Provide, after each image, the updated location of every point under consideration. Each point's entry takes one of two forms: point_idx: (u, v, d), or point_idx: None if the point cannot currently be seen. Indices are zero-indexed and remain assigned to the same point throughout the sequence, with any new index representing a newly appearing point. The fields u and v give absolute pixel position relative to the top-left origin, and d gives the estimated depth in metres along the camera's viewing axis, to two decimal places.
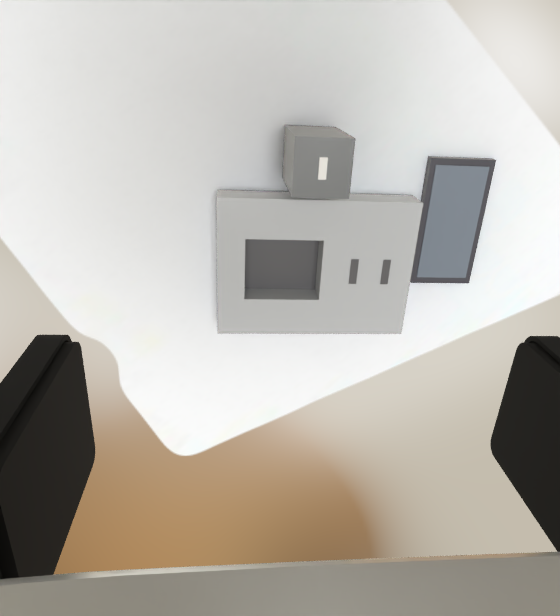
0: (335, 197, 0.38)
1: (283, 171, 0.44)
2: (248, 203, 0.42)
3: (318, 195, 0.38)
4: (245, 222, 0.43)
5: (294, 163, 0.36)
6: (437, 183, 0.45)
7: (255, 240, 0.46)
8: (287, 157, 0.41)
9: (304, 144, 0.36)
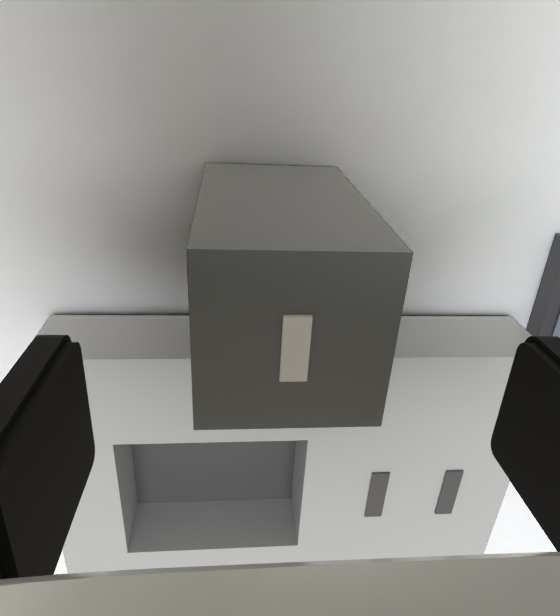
0: (338, 424, 0.12)
1: None
2: (110, 370, 0.16)
3: (282, 421, 0.12)
4: (107, 411, 0.17)
5: (193, 337, 0.10)
6: None
7: None
8: None
9: (225, 276, 0.10)
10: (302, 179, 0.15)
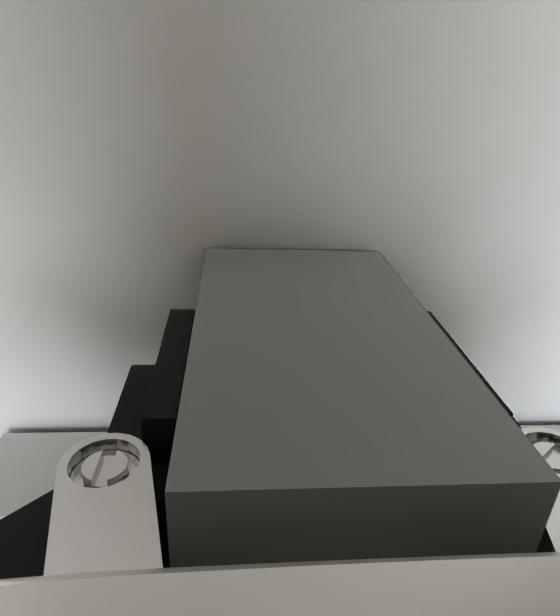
0: None
1: None
2: None
3: None
4: None
5: None
6: None
7: None
8: None
9: (234, 528, 0.06)
10: (338, 279, 0.11)
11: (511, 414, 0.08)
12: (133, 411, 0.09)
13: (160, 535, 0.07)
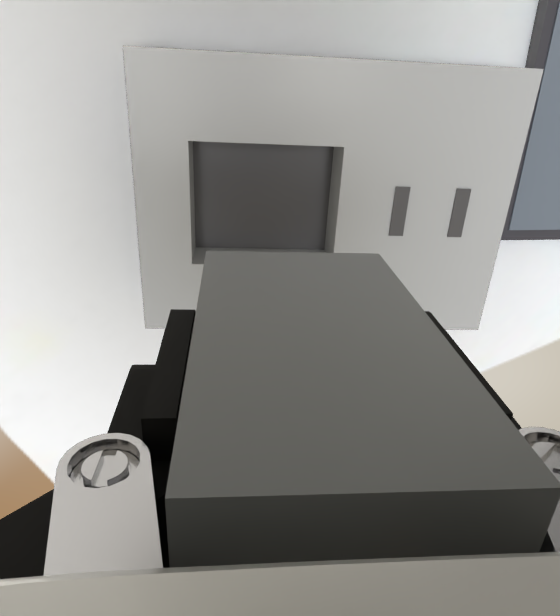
0: None
1: None
2: (191, 61, 0.21)
3: None
4: (186, 104, 0.21)
5: None
6: (559, 42, 0.24)
7: (213, 153, 0.25)
8: None
9: (234, 534, 0.05)
10: (338, 282, 0.11)
11: (511, 414, 0.08)
12: (133, 411, 0.09)
13: (160, 535, 0.07)
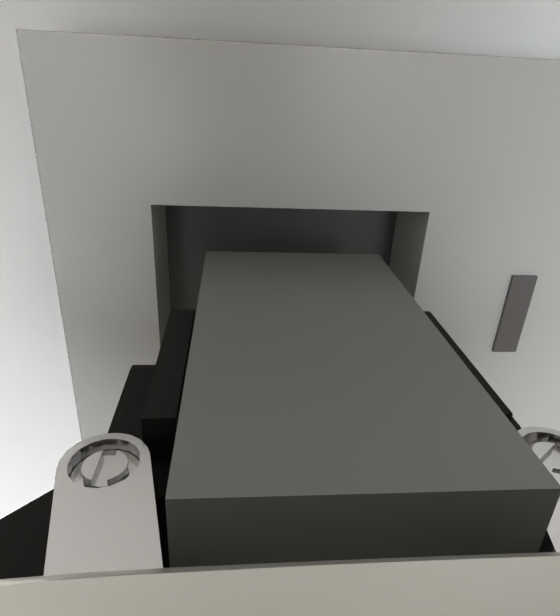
0: None
1: None
2: (152, 59, 0.11)
3: None
4: (146, 140, 0.11)
5: None
6: None
7: (199, 214, 0.15)
8: None
9: (234, 536, 0.06)
10: (338, 283, 0.11)
11: (511, 414, 0.08)
12: (133, 411, 0.09)
13: (160, 535, 0.07)
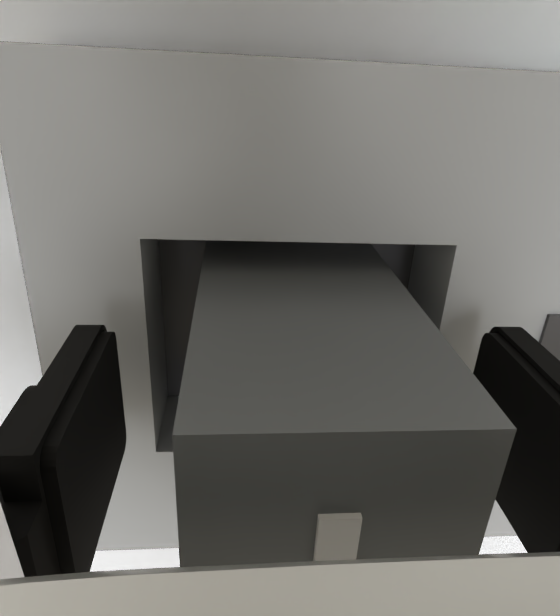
0: None
1: None
2: (140, 75, 0.09)
3: None
4: (133, 166, 0.10)
5: (183, 546, 0.07)
6: None
7: (196, 243, 0.13)
8: None
9: (231, 470, 0.06)
10: (329, 265, 0.12)
11: None
12: None
13: None
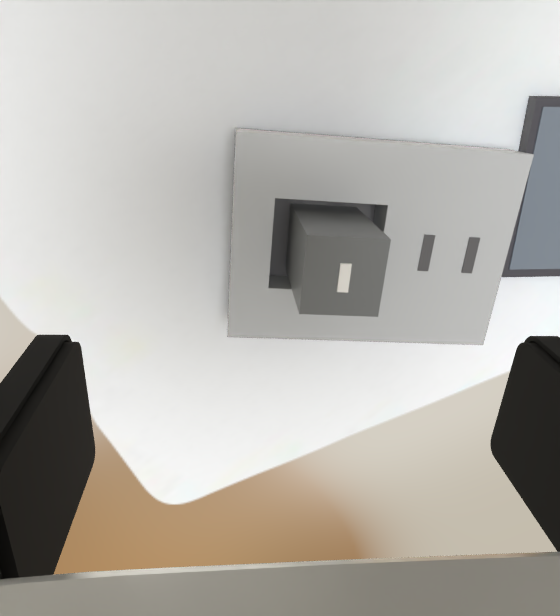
0: (359, 314, 0.27)
1: (287, 261, 0.33)
2: (283, 143, 0.29)
3: (336, 312, 0.27)
4: (276, 172, 0.29)
5: (304, 270, 0.26)
6: (543, 134, 0.32)
7: (286, 205, 0.33)
8: (293, 250, 0.30)
9: (319, 246, 0.26)
10: (341, 212, 0.31)
11: None
12: None
13: None
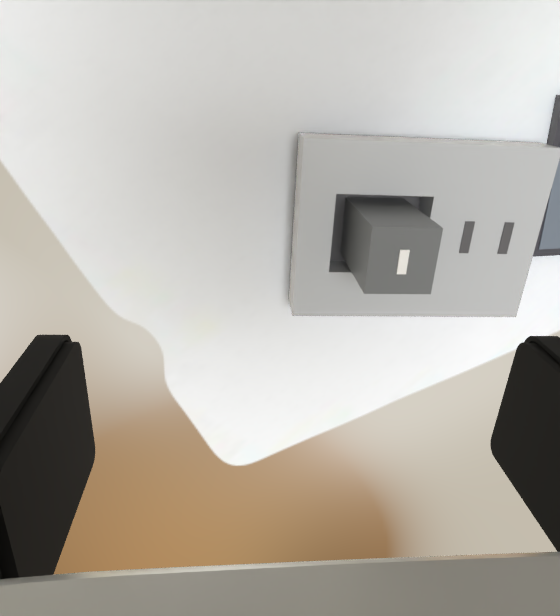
0: (415, 293, 0.32)
1: (342, 248, 0.38)
2: (344, 146, 0.33)
3: (395, 291, 0.32)
4: (338, 171, 0.34)
5: (369, 257, 0.31)
6: None
7: (342, 198, 0.37)
8: (353, 239, 0.35)
9: (383, 236, 0.30)
10: (392, 204, 0.36)
11: None
12: None
13: None
